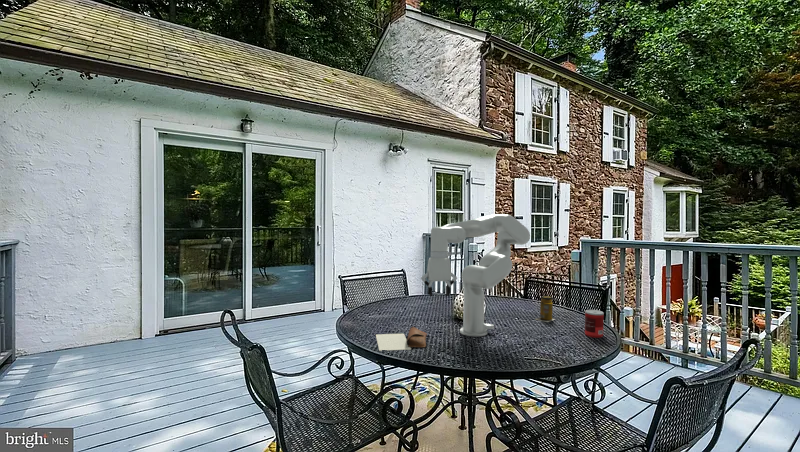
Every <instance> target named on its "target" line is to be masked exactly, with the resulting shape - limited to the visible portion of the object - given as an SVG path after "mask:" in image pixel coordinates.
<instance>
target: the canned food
mask: <svg viewBox="0 0 800 452" xmlns="http://www.w3.org/2000/svg"><path fill="white" fill-rule="evenodd" d="M604 314H605V313H604V312H603V311H601V310H598V309H586V310H585V311H584V315H585V316H584V334H585V336H587V337H590V338H595V339H599V338H603V336H604V320H605V319H604V318H605V315H604Z"/></svg>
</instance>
